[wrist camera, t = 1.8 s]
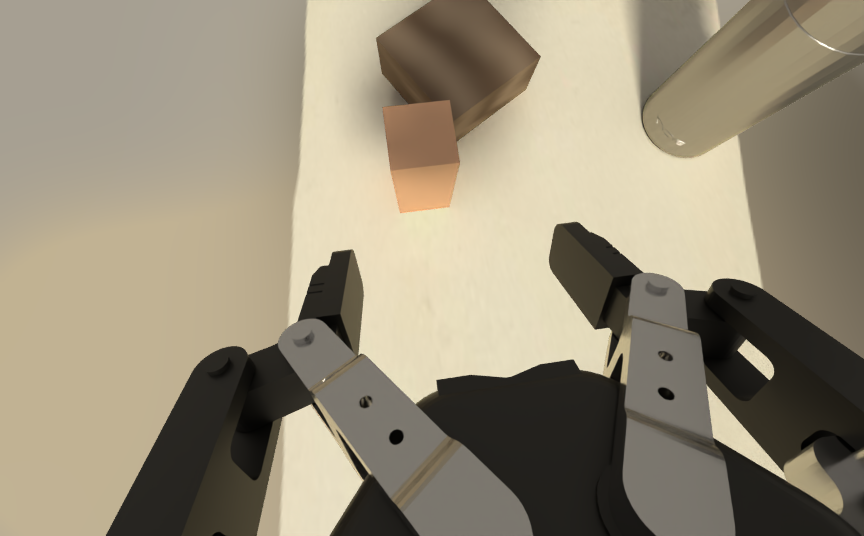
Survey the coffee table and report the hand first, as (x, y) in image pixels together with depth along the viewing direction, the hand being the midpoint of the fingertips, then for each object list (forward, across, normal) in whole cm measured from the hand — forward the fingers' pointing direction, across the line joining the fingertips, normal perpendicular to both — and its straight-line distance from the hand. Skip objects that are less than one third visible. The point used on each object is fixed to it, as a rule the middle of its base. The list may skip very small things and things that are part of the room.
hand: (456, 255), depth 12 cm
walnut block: (+32, -6, -3) cm, 32 cm away
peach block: (+23, 0, +6) cm, 23 cm away
